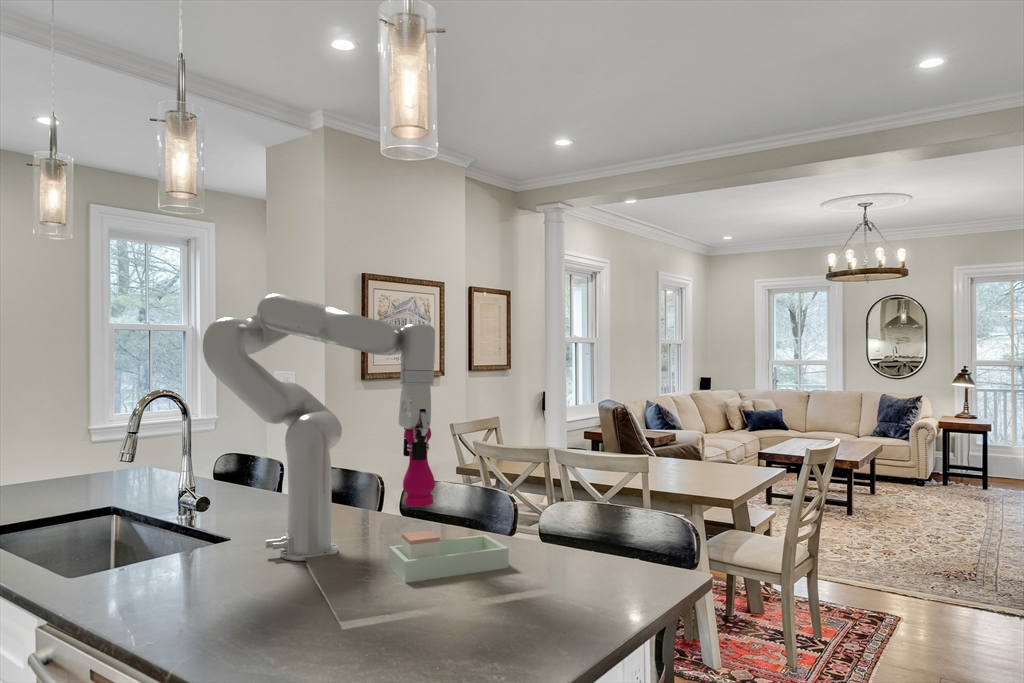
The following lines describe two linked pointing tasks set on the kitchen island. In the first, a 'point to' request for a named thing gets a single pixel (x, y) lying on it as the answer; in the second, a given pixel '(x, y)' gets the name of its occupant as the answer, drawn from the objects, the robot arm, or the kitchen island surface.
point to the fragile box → (420, 545)
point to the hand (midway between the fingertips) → (414, 457)
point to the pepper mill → (418, 476)
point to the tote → (451, 559)
